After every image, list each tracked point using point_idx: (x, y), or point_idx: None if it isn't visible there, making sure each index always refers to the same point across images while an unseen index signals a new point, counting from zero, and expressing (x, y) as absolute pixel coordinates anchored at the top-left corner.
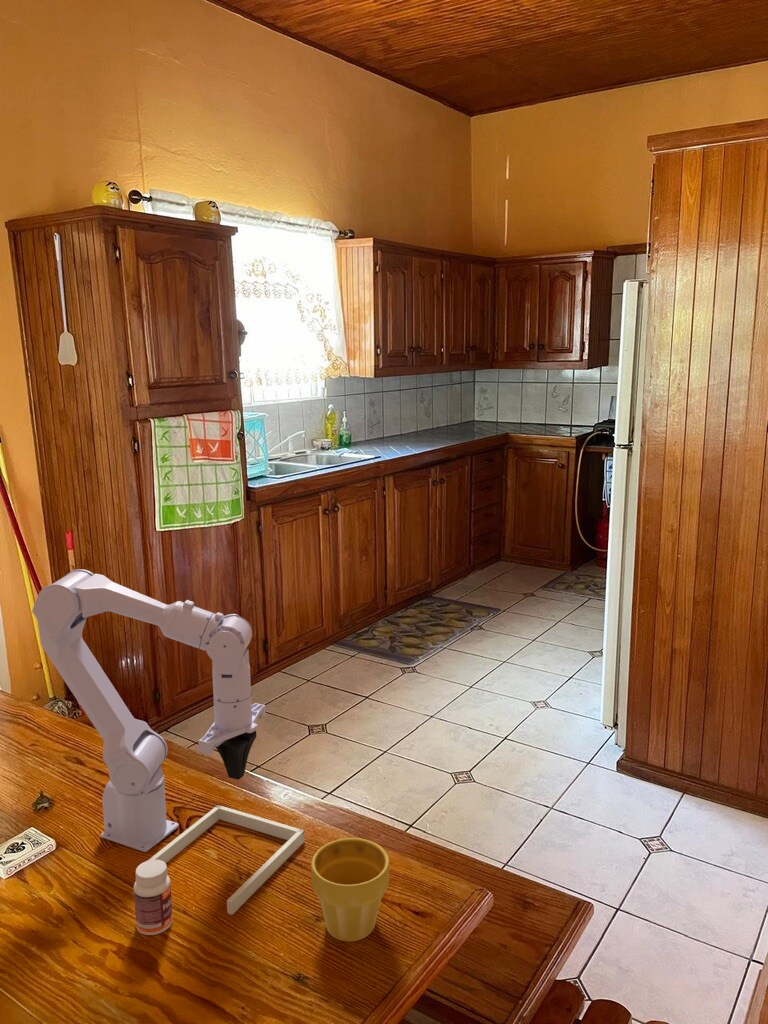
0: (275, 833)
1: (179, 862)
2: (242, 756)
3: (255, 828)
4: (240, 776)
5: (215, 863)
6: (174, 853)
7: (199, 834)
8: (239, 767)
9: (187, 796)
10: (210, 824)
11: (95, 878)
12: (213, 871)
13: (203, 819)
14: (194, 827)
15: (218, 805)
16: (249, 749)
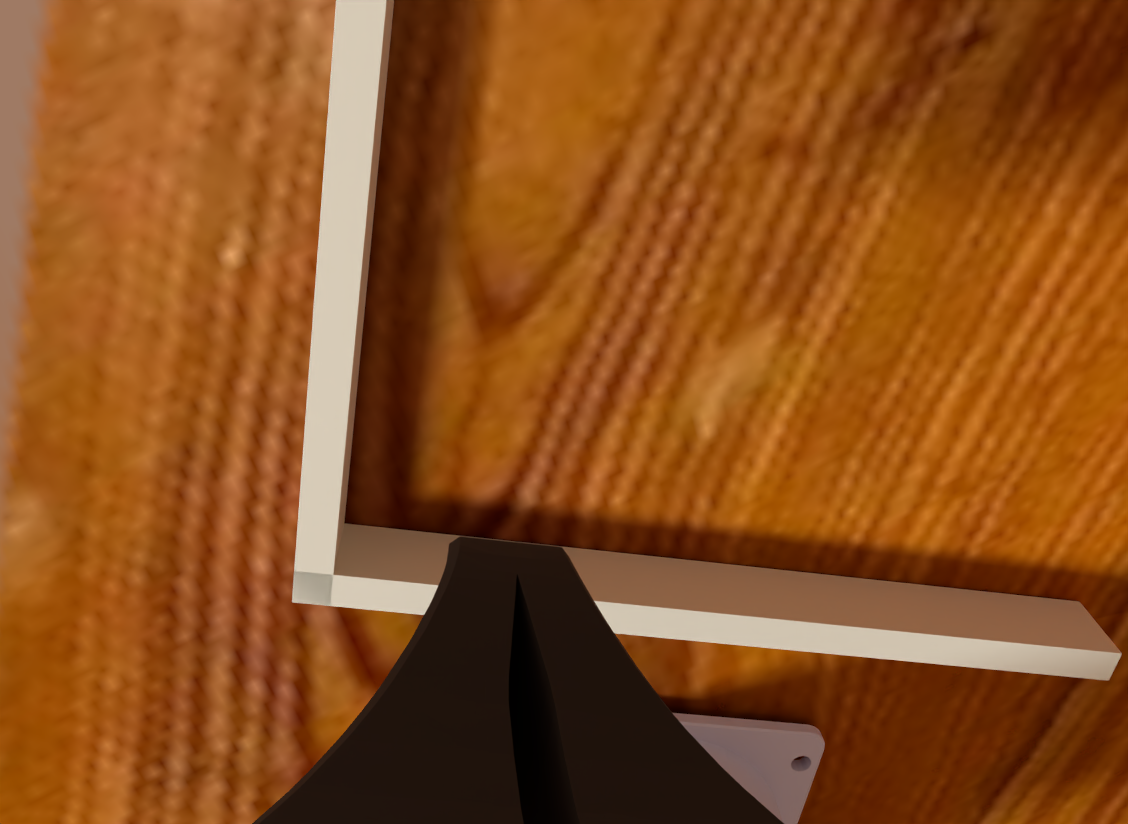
0: (390, 9)
1: (866, 516)
2: (593, 746)
3: (371, 217)
4: (546, 555)
5: (837, 301)
6: (819, 583)
7: (569, 551)
8: (622, 646)
9: (185, 815)
10: (445, 543)
11: (1063, 809)
12: (926, 270)
13: None
14: (620, 605)
15: (297, 595)
16: (372, 756)
